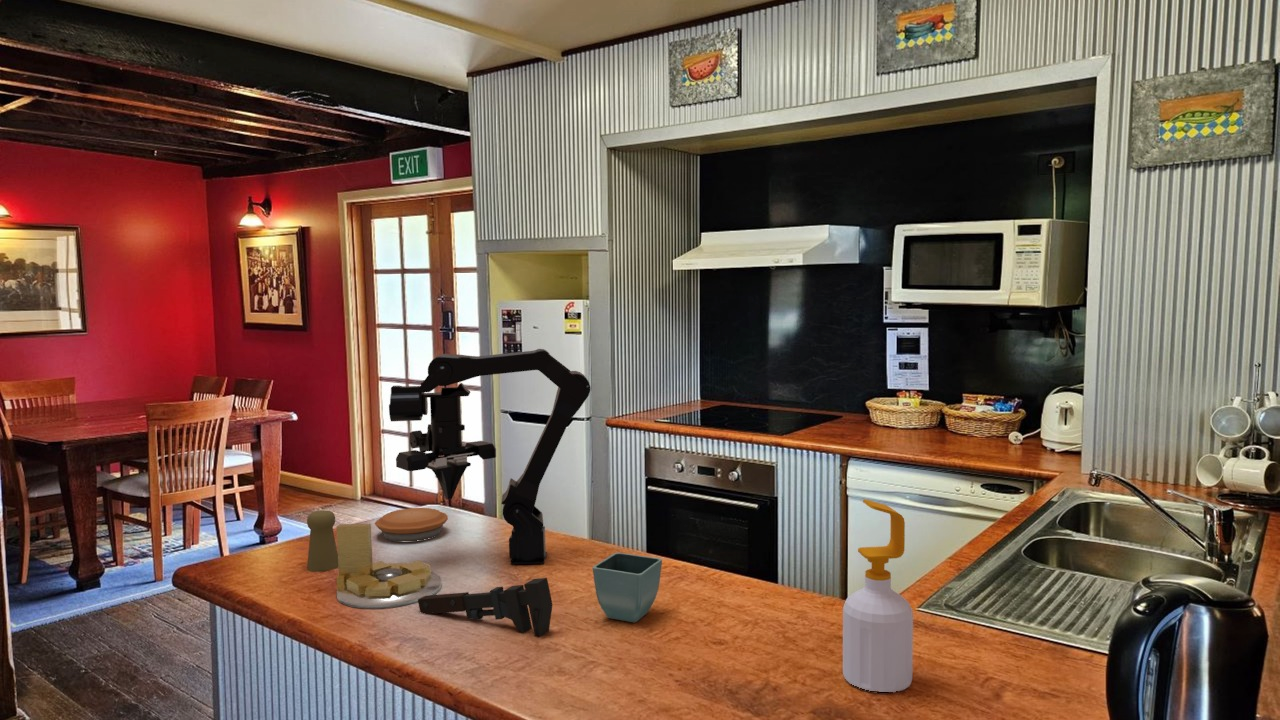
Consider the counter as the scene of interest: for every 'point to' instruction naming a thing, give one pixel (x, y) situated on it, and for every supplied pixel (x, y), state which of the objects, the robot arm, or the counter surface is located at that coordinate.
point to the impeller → (386, 601)
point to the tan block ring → (373, 565)
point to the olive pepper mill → (322, 541)
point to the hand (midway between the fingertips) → (448, 499)
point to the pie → (411, 524)
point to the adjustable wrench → (500, 605)
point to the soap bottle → (879, 620)
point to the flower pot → (627, 585)
